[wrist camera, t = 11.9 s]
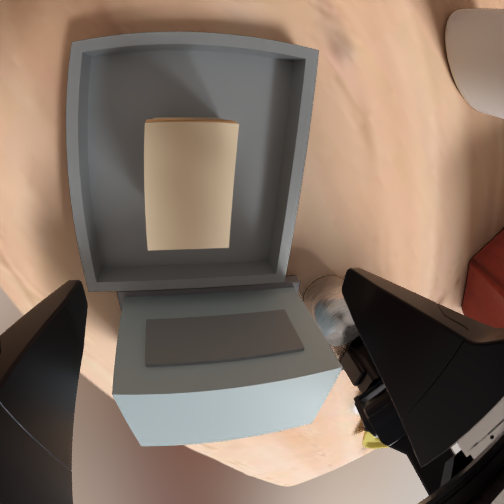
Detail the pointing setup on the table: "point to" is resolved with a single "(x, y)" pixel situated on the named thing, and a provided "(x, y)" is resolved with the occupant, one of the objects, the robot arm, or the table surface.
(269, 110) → the parts tray
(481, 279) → the plant pot
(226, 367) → the box
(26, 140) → the table surface
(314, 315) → the chrome-capped short cylinder
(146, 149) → the block
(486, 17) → the cylinder vase
